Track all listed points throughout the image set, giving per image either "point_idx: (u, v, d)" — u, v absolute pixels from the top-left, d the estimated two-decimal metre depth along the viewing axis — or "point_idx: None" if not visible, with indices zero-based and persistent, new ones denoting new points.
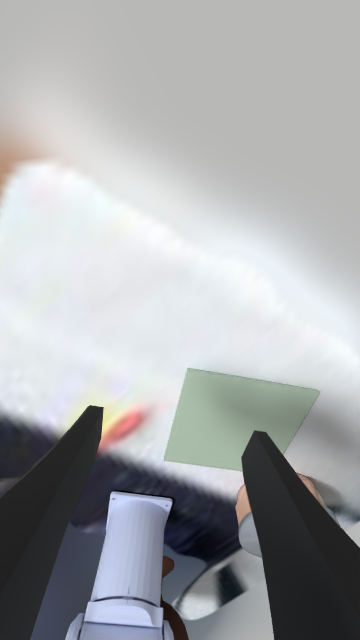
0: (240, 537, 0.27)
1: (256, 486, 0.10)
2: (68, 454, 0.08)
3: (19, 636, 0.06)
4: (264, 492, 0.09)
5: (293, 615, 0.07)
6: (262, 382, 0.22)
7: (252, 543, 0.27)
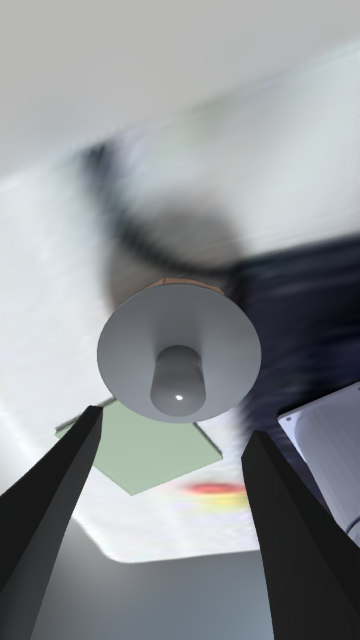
0: (233, 404, 0.18)
1: (256, 486, 0.10)
2: (68, 454, 0.08)
3: (19, 636, 0.06)
4: (264, 492, 0.09)
5: (293, 615, 0.07)
6: None
7: (233, 384, 0.17)
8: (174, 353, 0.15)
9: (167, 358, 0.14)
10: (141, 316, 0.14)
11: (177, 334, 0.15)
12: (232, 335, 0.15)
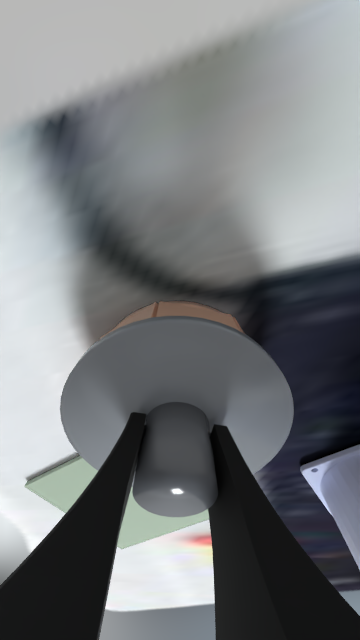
0: (251, 472, 0.13)
1: None
2: (126, 462, 0.08)
3: None
4: None
5: (230, 609, 0.07)
6: None
7: (252, 450, 0.12)
8: (170, 418, 0.10)
9: (160, 428, 0.10)
10: (121, 364, 0.10)
11: (174, 388, 0.10)
12: (254, 389, 0.10)
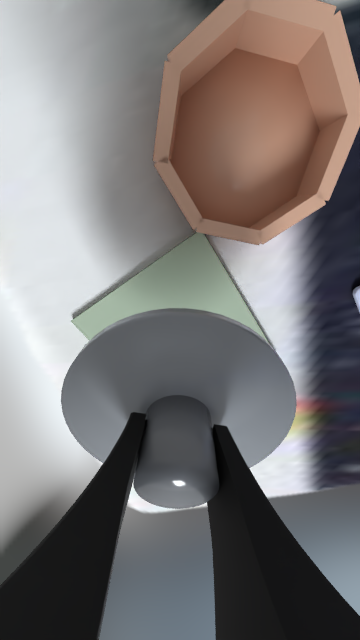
0: (252, 464, 0.13)
1: None
2: (126, 462, 0.08)
3: None
4: None
5: (230, 610, 0.07)
6: None
7: (253, 442, 0.12)
8: (171, 412, 0.10)
9: (161, 421, 0.10)
10: (122, 357, 0.10)
11: (176, 381, 0.10)
12: (256, 383, 0.10)
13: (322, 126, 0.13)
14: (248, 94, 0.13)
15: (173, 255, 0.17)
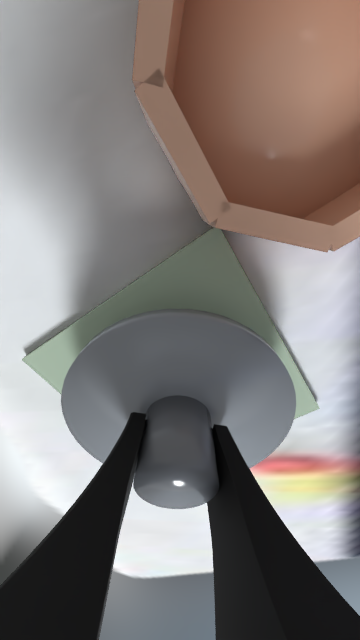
0: (251, 464, 0.13)
1: None
2: (126, 462, 0.08)
3: None
4: None
5: (230, 609, 0.07)
6: None
7: (253, 443, 0.12)
8: (171, 412, 0.10)
9: (161, 422, 0.10)
10: (122, 358, 0.10)
11: (176, 382, 0.10)
12: (256, 384, 0.10)
13: None
14: None
15: (173, 265, 0.11)
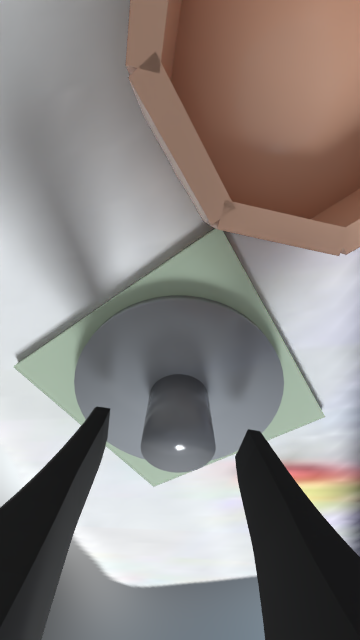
0: None
1: (249, 485, 0.10)
2: (77, 455, 0.08)
3: (32, 637, 0.06)
4: (257, 491, 0.09)
5: (283, 614, 0.07)
6: None
7: (247, 420, 0.13)
8: (173, 387, 0.11)
9: (164, 394, 0.11)
10: (130, 339, 0.11)
11: (177, 361, 0.12)
12: (248, 362, 0.12)
13: None
14: None
15: (172, 269, 0.10)
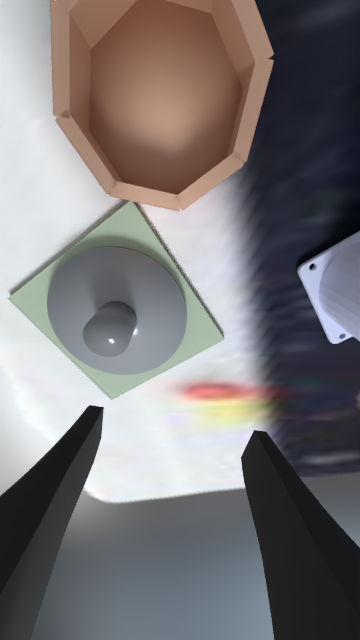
0: (169, 357, 0.20)
1: (256, 486, 0.10)
2: (68, 454, 0.08)
3: (19, 636, 0.06)
4: (264, 492, 0.09)
5: (293, 615, 0.07)
6: (59, 347, 0.21)
7: (166, 338, 0.19)
8: (108, 305, 0.17)
9: (101, 308, 0.17)
10: (80, 274, 0.17)
11: (112, 291, 0.18)
12: (159, 292, 0.18)
13: (243, 83, 0.13)
14: (162, 47, 0.12)
15: (105, 227, 0.17)
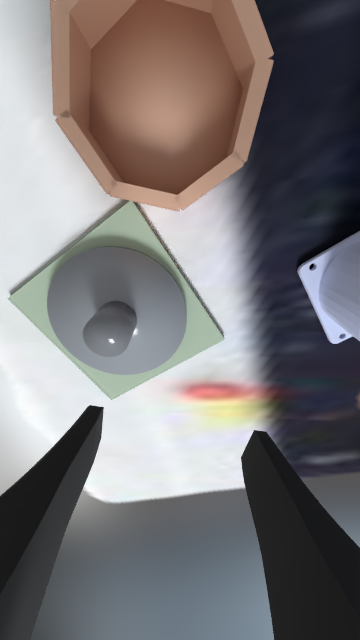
0: (169, 357, 0.20)
1: (256, 486, 0.10)
2: (68, 454, 0.08)
3: (19, 636, 0.06)
4: (264, 492, 0.09)
5: (293, 615, 0.07)
6: (59, 347, 0.21)
7: (166, 338, 0.19)
8: (108, 305, 0.17)
9: (101, 308, 0.17)
10: (80, 274, 0.17)
11: (112, 290, 0.18)
12: (159, 292, 0.18)
13: (243, 83, 0.13)
14: (162, 47, 0.12)
15: (105, 227, 0.17)
